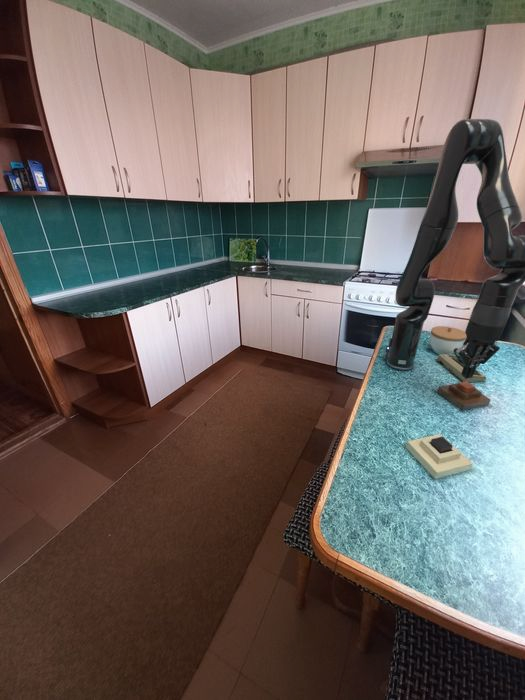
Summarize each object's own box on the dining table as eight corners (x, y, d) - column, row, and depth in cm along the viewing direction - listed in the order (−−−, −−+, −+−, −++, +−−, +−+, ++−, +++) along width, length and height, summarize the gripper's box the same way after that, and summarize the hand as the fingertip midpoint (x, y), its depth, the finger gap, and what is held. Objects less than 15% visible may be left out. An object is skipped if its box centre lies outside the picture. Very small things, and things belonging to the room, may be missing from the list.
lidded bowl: (421, 344, 128) (427, 321, 122) (452, 345, 126) (460, 322, 121) (432, 358, 116) (439, 333, 111) (466, 359, 115) (475, 334, 110)
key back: (456, 387, 92) (458, 382, 92) (465, 385, 93) (466, 381, 92) (465, 393, 90) (467, 388, 89) (473, 391, 90) (475, 386, 90)
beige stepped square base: (405, 447, 75) (408, 435, 73) (437, 439, 77) (441, 428, 76) (434, 479, 67) (439, 467, 65) (470, 469, 69) (475, 457, 67)
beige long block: (485, 381, 101) (488, 373, 99) (462, 383, 101) (465, 375, 99) (455, 360, 115) (458, 352, 113) (436, 361, 115) (438, 353, 113)
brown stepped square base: (436, 392, 96) (439, 382, 94) (461, 387, 98) (465, 377, 97) (462, 410, 88) (466, 400, 86) (488, 405, 90) (493, 394, 88)
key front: (429, 444, 71) (431, 438, 71) (440, 441, 72) (442, 436, 71) (439, 453, 69) (441, 448, 68) (451, 451, 69) (453, 445, 69)
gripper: (495, 312, 78) (474, 367, 86) (453, 317, 75) (436, 373, 83) (523, 322, 71) (497, 380, 80) (479, 328, 69) (457, 387, 77)
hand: (466, 376), depth 81 cm, fingers closed
